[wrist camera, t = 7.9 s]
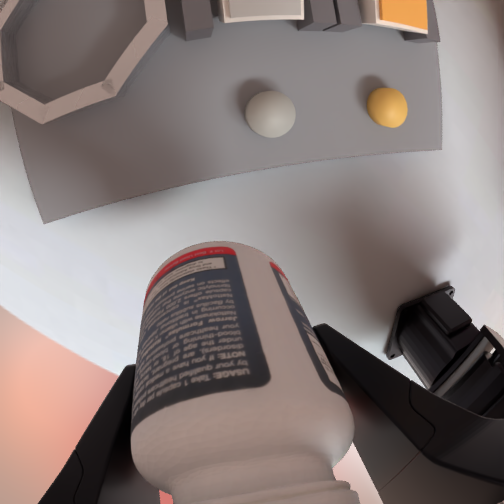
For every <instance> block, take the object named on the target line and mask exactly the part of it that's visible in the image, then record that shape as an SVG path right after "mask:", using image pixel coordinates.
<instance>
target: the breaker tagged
mask: <svg viewBox="0 0 504 504" xmlns="http://www.w3.org/2000/svg"><path fill="white" fill-rule="evenodd" d="M358 5H359V11H360V16H361V22H362V24H368V25H375V26H381V27H387V28H393V29H398V30H403V31H409V32H416V33H423V34H428V25H427V2H426V0H358Z"/></svg>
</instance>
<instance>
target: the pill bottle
mask: <svg viewBox="0 0 504 504" xmlns="http://www.w3.org/2000/svg"><path fill="white" fill-rule="evenodd" d="M354 432H355V424H354V418H353V415H352V412H351V409H350V407H349V404H348V401H347V399H346V397H345V395H344V393H343V391H342V388H341V386H340V384H339V381H338V380H337V378H336V376H335V374H334V372H333V369H332V367H331V365H330V363H329V361H328V359H327V357H326V355H325V352H324V350H323V348H322V347H321V345H320V342H319V340H318V339H317V337H316V335H315V333H314V331H313V329H312V327H311V325H310V323H309V321H308V319H307V317H306V315H305V313H304V310H303V308H302V306H301V304H300V302H299V300H298V298H297V297H296V295H295V293H294V291H293V289H292V287H291V285H290V283H289V281H288V279H287V278H286V276H285V274H284V273H283V271H282V270H281V268H280V267H279V266H278V265H277V264H276V263H275V262H274V261H273V260H272V259H271V258H270V257H268V256H267V255H266V254H264V253H262V252H261V251H259V250H257V249H255V248H253V247H250V246H247V245H243V244H239V243H234V242H226V241H213V242H205V243H200V244H196V245H193V246H190V247H187V248H185V249H183V250H181V251H179V252H177V253H176V254H174V255H173V256H171V257H170V258H169V259H167V260H166V261H165V262H164V263H163V264H162V265H161V266H160V267H159V268H158V270H157V271H156V272H155V274H154V275H153V277H152V278H151V280H150V283H149V285H148V288H147V291H146V296H145V300H144V306H143V314H142V321H141V328H140V336H139V343H138V352H137V360H136V370H135V380H134V392H133V405H132V420H131V452H132V458H133V461H134V464H135V466H136V468H137V470H138V471H139V473H140V474H141V475H142V476H143V478H144V479H145V480H146V481H147V482H149V483H150V484H151V485H153V486H154V487H156V488H157V489H159V490H161V491H163V492H165V493H168V494H171V495H172V498H173V504H360V502H359V497H358V493H357V492H356V491H353V490H350V484H349V483H348V482H346V481H336V479H335V477H334V475H333V470H332V468H333V467H334V466H335V465H336V464H337V463H338V462H339V461H340V460H341V459H342V458H343V457H344V456H345V454H346V453H347V451H348V450H349V448H350V446H351V444H352V441H353V437H354Z"/></svg>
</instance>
